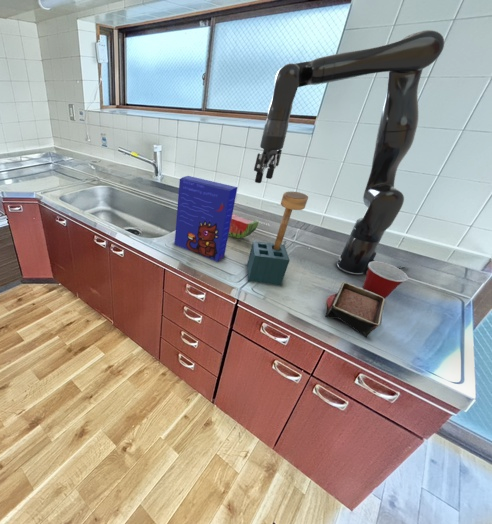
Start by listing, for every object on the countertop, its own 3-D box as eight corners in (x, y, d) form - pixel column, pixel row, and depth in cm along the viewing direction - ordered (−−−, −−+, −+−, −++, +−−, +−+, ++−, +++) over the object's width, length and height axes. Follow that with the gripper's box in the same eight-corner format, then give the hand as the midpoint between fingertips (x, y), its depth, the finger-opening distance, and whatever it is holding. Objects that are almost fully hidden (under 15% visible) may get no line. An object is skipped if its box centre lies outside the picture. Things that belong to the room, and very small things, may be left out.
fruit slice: (202, 225, 147) (205, 207, 142) (210, 222, 150) (213, 204, 145) (246, 244, 130) (251, 224, 125) (254, 240, 133) (259, 221, 128)
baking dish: (380, 323, 91) (392, 295, 87) (370, 347, 79) (385, 316, 75) (329, 304, 100) (338, 278, 96) (314, 323, 88) (324, 295, 84)
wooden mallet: (259, 269, 113) (281, 189, 94) (278, 272, 111) (305, 191, 93) (260, 281, 106) (285, 198, 88) (281, 284, 105) (310, 200, 87)
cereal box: (224, 256, 121) (237, 186, 105) (217, 261, 117) (230, 190, 101) (182, 239, 133) (188, 175, 117) (174, 244, 129) (179, 178, 113)
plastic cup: (393, 313, 92) (412, 283, 85) (353, 301, 97) (368, 272, 90) (389, 295, 100) (407, 266, 93) (353, 285, 104) (367, 257, 98)
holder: (276, 269, 113) (284, 244, 107) (281, 285, 104) (289, 260, 98) (246, 265, 115) (252, 240, 110) (248, 280, 106) (254, 255, 100)
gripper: (275, 137, 93) (263, 186, 101) (293, 133, 101) (281, 179, 110) (254, 134, 97) (244, 182, 106) (273, 130, 105) (263, 175, 114)
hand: (263, 180), depth 108 cm, fingers open, 8 cm apart
